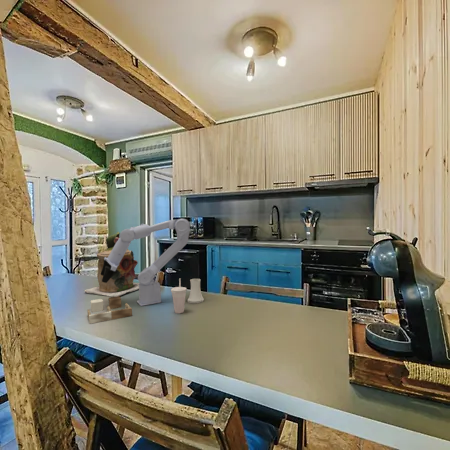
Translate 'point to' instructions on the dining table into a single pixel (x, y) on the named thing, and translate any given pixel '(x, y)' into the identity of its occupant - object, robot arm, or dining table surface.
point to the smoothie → (179, 297)
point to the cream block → (96, 305)
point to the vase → (195, 292)
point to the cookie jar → (123, 278)
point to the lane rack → (109, 314)
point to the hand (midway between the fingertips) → (103, 278)
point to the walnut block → (114, 302)
